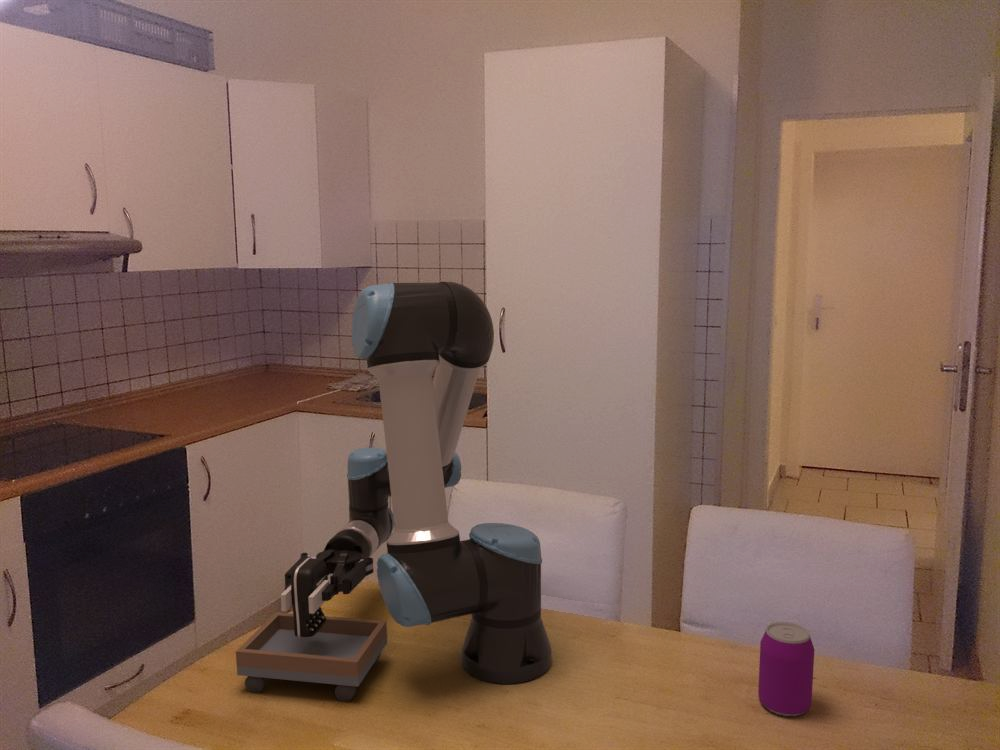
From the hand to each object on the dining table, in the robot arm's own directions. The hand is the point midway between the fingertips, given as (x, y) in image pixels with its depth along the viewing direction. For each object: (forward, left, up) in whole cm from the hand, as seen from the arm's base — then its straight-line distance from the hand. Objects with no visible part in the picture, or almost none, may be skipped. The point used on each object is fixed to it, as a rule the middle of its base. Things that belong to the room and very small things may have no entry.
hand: (297, 604), depth 129 cm
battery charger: (0, -5, -7) cm, 9 cm away
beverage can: (-74, -9, -15) cm, 76 cm away
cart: (0, -5, -15) cm, 16 cm away
